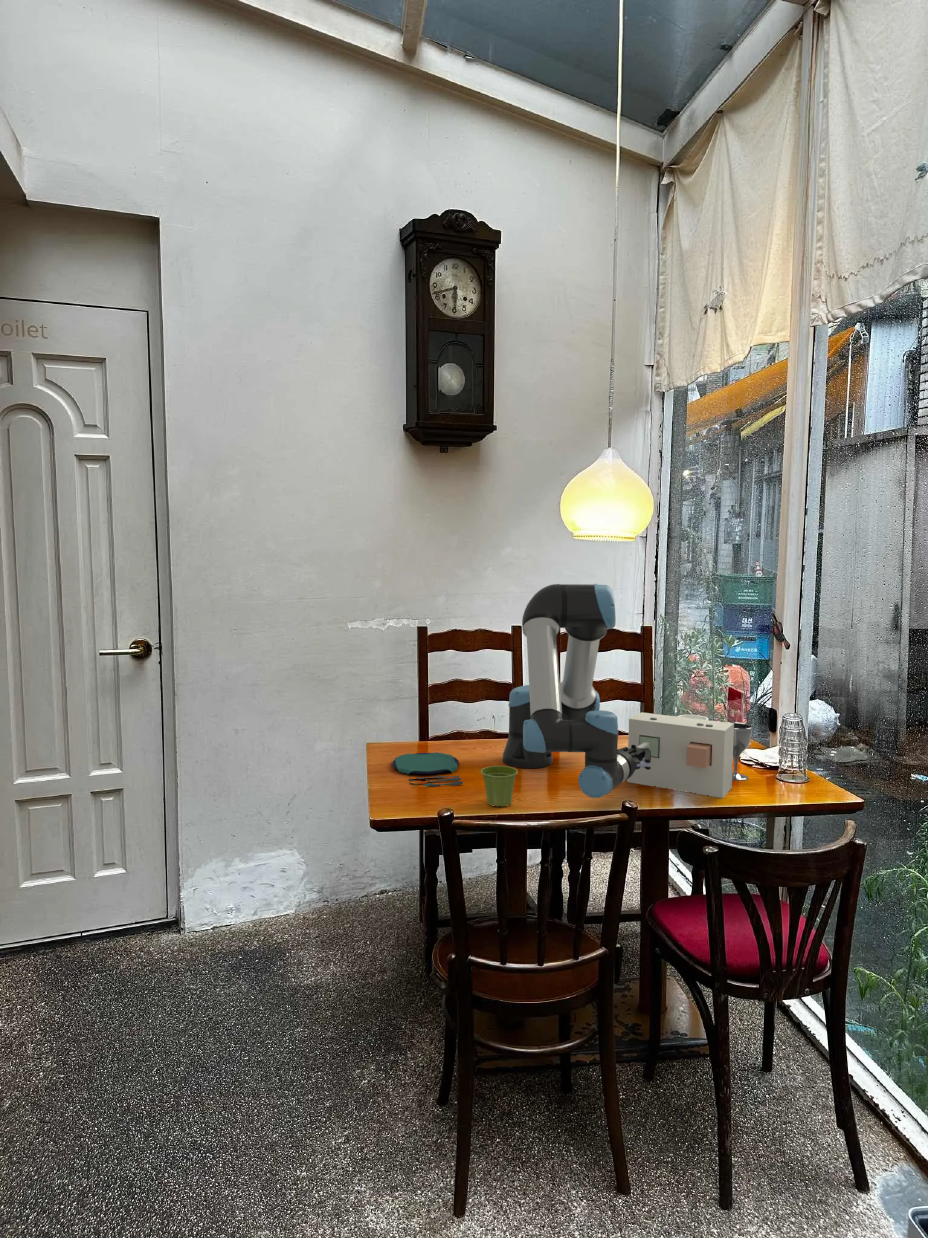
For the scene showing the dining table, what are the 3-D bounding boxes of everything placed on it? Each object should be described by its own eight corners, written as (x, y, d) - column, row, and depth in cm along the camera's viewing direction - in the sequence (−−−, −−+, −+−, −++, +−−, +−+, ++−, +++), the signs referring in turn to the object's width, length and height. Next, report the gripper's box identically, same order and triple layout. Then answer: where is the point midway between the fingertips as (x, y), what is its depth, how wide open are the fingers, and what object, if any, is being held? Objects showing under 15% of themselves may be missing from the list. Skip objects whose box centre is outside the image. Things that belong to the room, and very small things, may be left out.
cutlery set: (453, 757, 244) (453, 750, 243) (470, 788, 214) (470, 779, 214) (389, 760, 240) (389, 753, 240) (398, 792, 211) (398, 784, 211)
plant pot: (496, 812, 192) (496, 778, 192) (473, 802, 200) (473, 769, 199) (525, 805, 198) (525, 772, 197) (501, 795, 206) (502, 763, 205)
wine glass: (715, 776, 224) (717, 724, 222) (730, 771, 229) (732, 721, 228) (740, 782, 218) (742, 730, 216) (755, 777, 223) (757, 725, 221)
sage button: (657, 757, 212) (657, 739, 212) (639, 754, 215) (640, 736, 214) (664, 752, 217) (664, 734, 217) (646, 749, 220) (647, 732, 220)
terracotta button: (705, 768, 202) (706, 749, 201) (686, 765, 205) (687, 746, 204) (711, 762, 207) (712, 744, 206) (693, 760, 210) (693, 741, 209)
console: (722, 798, 204) (724, 729, 202) (627, 782, 218) (628, 717, 216) (731, 788, 213) (734, 722, 211) (639, 773, 226) (641, 711, 225)
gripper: (590, 778, 196) (623, 757, 216) (640, 787, 189) (670, 764, 209) (591, 749, 195) (624, 730, 215) (641, 757, 188) (671, 737, 208)
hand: (646, 747), depth 212 cm, fingers closed
